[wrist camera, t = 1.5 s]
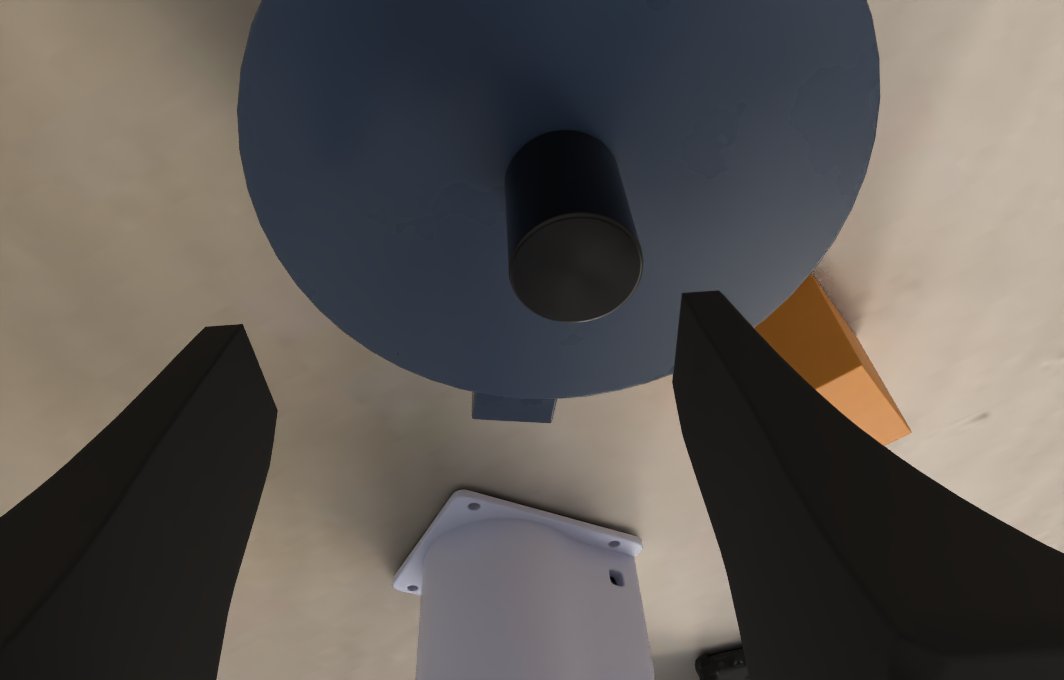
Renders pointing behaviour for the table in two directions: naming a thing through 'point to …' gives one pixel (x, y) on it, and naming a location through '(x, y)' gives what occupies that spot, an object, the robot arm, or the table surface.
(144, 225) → the table surface
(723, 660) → the game console
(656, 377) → the lid
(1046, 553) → the robot arm
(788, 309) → the orange block
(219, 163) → the table surface
